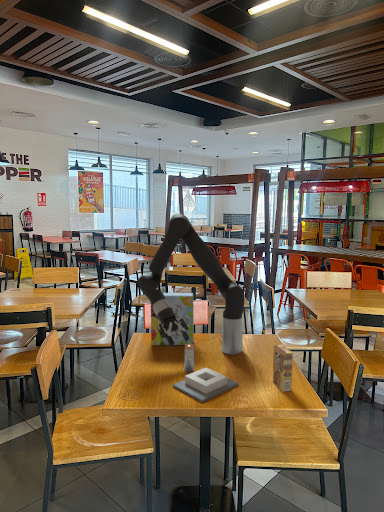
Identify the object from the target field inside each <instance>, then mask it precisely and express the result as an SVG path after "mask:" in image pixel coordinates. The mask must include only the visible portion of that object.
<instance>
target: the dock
mask: <svg viewBox="0 0 384 512" xmlns="http://www.w3.org/2000/svg"><path fill="white" fill-rule="evenodd" d="M238 386H239V382H238V381H235V380H233V379H231V378H228V376H226V375H223V374H221V373H219V372H217V371H215V370H212V369H210V368H208V367H204V368H201V369H198V370H197V371H193V372H190V373H188V374H186V375H184V380H181V381H178V382H175V383H173V384H172V387H173V388H174V389H176V390H178V391H180V392H181V393H184V395H187V396H189V397H191V398H193V399H195V400H196V401H198V402H200V403H203V404H204V402H206V401H208V400H209V401H210V400H211V399H212V398H215V397H217V396H219V395H221V394H223V393H226V392H227V391H229V390H232V389H233V388H235V387H238Z"/></svg>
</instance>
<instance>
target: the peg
mask: <svg viewBox="0 0 384 512" xmlns="http://www.w3.org/2000/svg"><path fill="white" fill-rule="evenodd" d="M184 371H185V372H186V373H193V372H195V344H194V343H193V344H186V345H184Z"/></svg>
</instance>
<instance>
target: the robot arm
mask: <svg viewBox="0 0 384 512" xmlns="http://www.w3.org/2000/svg"><path fill="white" fill-rule="evenodd" d="M181 240H182V241H183V243H184V244H185V245H186V247H187V249H188V251H189V253H190V255H191V256H192V258H193V260H194V261H195V263H196V265H197V266H198V267H199V269H201V270H202V271H203V273H204V274H205V275H206V276H207V277H208V278H209V279H210V280H211V281H212V282H213V284H214V285H215V286H216V288H217V289H218V292H219V293H220V295H221V296H222V298H223V299H224V300H225V306H224V310H223V311H222V333H221V334H222V338H221V339H222V341H221V342H222V343H221V344H222V345H221V351H222V353H223V354H226V355H231V356H233V355H239V354H241V353H242V351H243V342H244V341H243V337H244V336H243V335H244V334H243V333H244V332H243V329H242V328H243V314H244V310H245V291H244V289H243V288H242V286H240V285H238V284H236V283H235V282H234V281H233V280H232V279H231V278H230V276H228V275H227V273H226V272H225V270H224V268H223V265H222V264H221V262H220V260H219V259H218V256H217V255H216V254H215V253H214V252H213V251H212V249H211V248H210V247H209V245H208V244H207V243H206V241H204V240H203V239H202V237H200V235H199V234H198V233H197V231H196V230H195V228H194V227H193V225H192V223H191V221H190V219H189V218H188V217H187V216H186V215H185V214H183V213H175V214H173V215H172V216H171V217H170V220H169V222H168V228H167V231H166V234H165V236H164V238H163V241H162V242H161V245H160V246H159V248H158V249H157V250H156V252H155V254H154V256H153V257H152V260H151V261H150V264H149V266H148V270H149V271H150V272H151V273H150V274H143V275H141V276H139V278H138V279H137V280H138V281H137V285H138V288H139V289H140V291H141V292H142V293H143V295H144V296H145V297H146V298H147V299H148V301H149V302H150V305H151V304H152V306H153V308H154V311H155V313H156V315H157V317H158V319H159V321H160V323H161V324H159V325H158V326H157V329H158V331H159V333H160V336H161V338H166V339H167V341H168V343H169V344H170V345H169V346H175V345H174V341H173V339H172V337H171V336H170V332H172V331H177V332H180V333H182V336H183V337H184V339H185V341H188V340H189V336H188V334H187V332H186V331H187V330H188V329H189V328H188V326H187V325H186V323H185V322H184V320H183V319H182V318H181V319H180V320H177V319H176V315H175V313H174V312H173V310H172V308H171V306H170V304H169V303H168V301H167V300H166V298H165V296H164V294H163V293H164V292H163V291H162V290H160V289H158V288H159V287H160V284H161V281H162V278H163V272H164V270H165V269H166V267H167V265H168V264H169V261H170V259H171V257H172V255H173V252H175V249H176V247H177V246H178V244H179V243H180V241H181ZM178 327H179V329H178ZM163 328H164V329H166V331H164V329H163ZM182 330H183V331H182Z"/></svg>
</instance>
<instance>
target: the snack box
mask: <svg viewBox="0 0 384 512" xmlns="http://www.w3.org/2000/svg"><path fill="white" fill-rule="evenodd" d="M162 293H163V294H164V296H165V298H166V300H167V301H168V303H169V304H170V306H171V308H172V310H173V312H174V313H175V315H176V319H177V320H180V319H181V318H182V319H183V320H184V322H185V323H186V325H187V326H188V328H189V329H188V330H187V331H186V332H187V334H188V336H189V340H188V341H185V339H184V337H183V336H182V333H180V332H177V331H172V332H170V336H171V337H172V339H173V341H174V345H173V346H185V345H186V344H193V345H194V337H195V336H194V335H195V334H194V332H195V330H194V327H195V326H194V325H195V324H194V321H195V320H194V319H195V318H194V316H195V315H194V313H195V312H194V310H195V309H194V307H195V306H194V293H193V292H162ZM159 324H161V323H160V321H159V319H158V317H157V315H156V313H155V311H154V308H153V306H152V304H151V303H150V335H151V336H150V339H151V340H150V341H151V345H150V346H171V345H170V344H169V343H168V341H167V339H166V338H161V336H160V333H159V331H158V329H157V326H158V325H159ZM163 329H164V328H163ZM178 329H179V327H178ZM164 331H166V329H164ZM182 331H183V330H182Z"/></svg>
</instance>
